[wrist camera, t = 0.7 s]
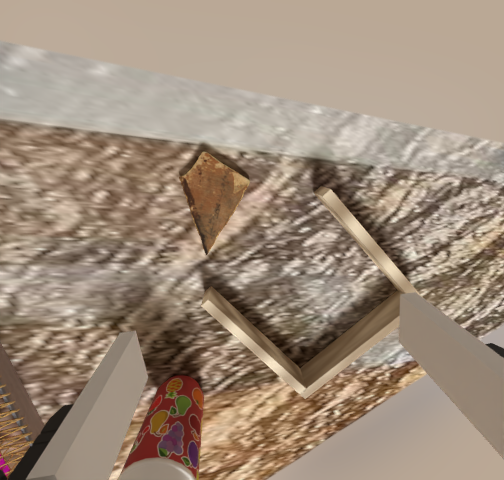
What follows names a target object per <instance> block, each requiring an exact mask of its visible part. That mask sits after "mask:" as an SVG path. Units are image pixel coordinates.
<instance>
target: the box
mask: <svg viewBox="0 0 504 480" xmlns="http://www.w3.org/2000/svg"><path fill="white" fill-rule="evenodd" d="M314 194H315V195H316V196H317V197H318V199H319V200H320V201H321V202H322V203H323V204H324V205H325V207H326V208H327V209H328V210H329V211H330V212H331V214H332V215H333V216H334V217H335V218H336V219H337V220H338V222H339V223H340V224H341V225H342V226H343V227H344V229H345V230H346V231H347V232H348V233H349V234H350V235H351V237H352V238H353V239H354V240H355V241H356V242H357V244H358V245H359V246H360V247H361V248H362V249H363V250H364V252H365V253H366V254H367V255H368V256H369V257H370V259H371V260H372V261H373V262H374V263H375V264H376V265H377V267H378V268H379V269H380V270H381V271H382V272H383V274H384V275H385V276H386V277H387V278H388V279H389V280H390V282H391V283H392V284H393V285H394V286H395V287H396V288H397V291H396V292H395V293H393V294H392V295H391V296H390V297H388V298H387V299H386V300H385V301H383V302H382V303H381V304H380V305H378V306H377V307H376V308H375V309H373V310H372V311H371V312H370V313H368V314H367V315H366V316H365V317H363V318H362V319H361V320H360V321H358V322H357V323H356V324H355V325H353V326H352V327H351V328H350V329H348V330H347V331H346V332H345V333H343V334H342V335H341V336H340V337H338V338H337V339H336V340H335V341H333V342H332V343H331V344H330V345H328V346H327V347H326V348H325V349H323V350H322V351H321V352H320V353H318V354H317V355H316V356H315V357H313V358H312V359H311V360H310V361H309V362H307V363H306V364H305V365H304V366H302V367H301V368H299V367H298V366H297V365H296V364H295V363H294V362H293V361H292V360H291V359H289V358H288V357H287V356H286V355H285V354H284V353H283V352H282V351H281V350H280V349H279V348H278V347H276V346H275V345H274V344H273V343H272V342H271V341H270V340H269V339H268V338H267V337H266V336H265V335H264V334H262V333H261V332H260V331H259V330H258V329H257V328H256V327H255V326H254V325H253V324H252V323H251V322H250V321H248V320H247V319H246V318H245V317H244V316H243V315H242V314H241V313H240V312H239V311H238V310H237V309H236V308H234V307H233V306H232V305H231V304H230V303H229V302H228V301H227V300H226V299H225V298H224V297H223V296H222V295H220V294H219V293H218V292H217V291H216V290H215V289H214V288H213V287H212V286H211V287H209V288H208V289H207V290H206V291H205V293H204V297H203V301H202V305H201V306H202V307H203V308H204V309H205V310H206V311H207V312H208V313H210V314H211V315H212V316H213V317H214V318H215V319H216V320H217V321H218V322H220V323H221V324H222V325H223V326H224V327H225V328H226V329H227V330H229V331H230V332H231V333H232V334H233V335H234V336H235V337H236V338H237V339H239V340H240V341H241V342H242V343H243V344H244V345H245V346H246V347H247V348H249V349H250V350H251V351H252V352H253V353H254V354H255V355H256V356H258V357H259V358H260V359H261V360H262V361H263V362H264V363H265V364H266V365H268V366H269V367H270V368H271V369H272V370H273V371H274V372H275V373H276V374H278V375H279V376H280V377H281V378H282V379H283V380H284V381H285V382H287V383H288V384H289V385H290V386H291V387H292V388H293V389H294V390H295V391H297V392H298V393H299V394H300V395H301V396H302V397H303V398H304V399H306V398H307V397H308V396H310V395H311V394H312V393H314V392H315V391H316V390H318V389H319V388H320V387H321V386H323V385H324V384H325V383H327V382H328V381H329V380H330V379H332V378H333V377H334V376H336V375H337V374H338V373H339V372H341V371H342V370H343V369H345V368H346V367H347V366H348V365H350V364H351V363H352V362H354V361H355V360H356V359H357V358H359V357H360V356H361V355H363V354H364V353H365V352H366V351H368V350H369V349H370V348H372V347H373V346H374V345H375V344H377V343H378V342H379V341H381V340H382V339H383V338H384V337H386V336H387V335H388V334H390V333H391V332H392V331H393V330H395V329H396V328H397V327H399V317H400V294H406V293H413V292H416V293H417V294H418V295H420V294H419V293H418V292H417V290H416V289H415V288H414V287H413V286H412V284H411V283H410V282H409V281H408V280H407V279H406V277H405V276H404V275H403V274H402V273H401V271H400V270H399V269H398V268H397V267H396V266H395V264H394V263H393V262H392V261H391V260H390V258H389V257H388V256H387V255H386V254H385V253H384V251H383V250H382V249H381V248H380V247H379V245H378V244H377V243H376V242H375V241H374V240H373V238H372V237H371V236H370V235H369V234H368V232H367V231H366V230H365V229H364V228H363V227H362V225H361V224H360V223H359V222H358V221H357V219H356V218H355V217H354V216H353V215H352V214H351V212H350V211H349V210H348V209H347V208H346V206H345V205H344V204H343V203H342V202H341V201H340V199H339V198H338V197H337V196H336V195H335V193H334V192H333V191H332V190H331V189H329V188H326V187H322V186H320V187H319V188H318V189H317V190H316V191H315V192H314ZM420 296H421V295H420ZM421 297H422V296H421ZM422 298H423V297H422Z"/></svg>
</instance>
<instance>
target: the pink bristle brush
mask: <svg viewBox="0 0 504 480" xmlns="http://www.w3.org/2000/svg"><path fill="white" fill-rule="evenodd" d="M0 394H1V395H0V398H2V397H3V399H4V401H5V403H4V404H0V406H1V405H2V406H1V407H0V408H2V407H5V406H8V408H9V410H10V411H8V412H4V413H0V415H1V414H5V413H7V414H5V415H3V416H0V418H2V417H5V416H7V415H9V414H12V415H13V417H14V419H12V420H7V421H3V422H0V423H5V422H9V421H11V422H10V423H8V424H0V425H4V426H7V425H9V424H11V423H14V422H17V424H18V426H19V427H15V428H10V429H6V430H2V431H0V433H1V432H5V433H8V434H6V435H9V434H11V433H13V432H15V431H18V430H20V429H21V431H22V433H23V434H22V435H17V436H13V437H8V438H4V439H0V441H1V440H4V441H5V440H14V441H12V442H15V441H17V440H19V439H21V438H23V437H25V438H26V440H27V442H23V443H19V444H14V445H10V446H6V445H8V444H10V443H12V442H10V443H7V444H5V445H3V446H6V447H3V446H1V444H2V443H3V442H4V441H3V442H2V443H1V444H0V446H1V447H0V449H3V448H8V449H9V448H10V447H12V448H17V449H15V450H13V451H11V452H14V451H16V450H18V449H20V448H22V447H24V446H27V445H30V446H32V445H33V442H34V441H35V439H36V438H37V436H38V435H40V434H41V431H42V429H43V428H44V426H45V425H44V423H43V422H42V420H41V418H40V416H39V414H38V412H37V410H36V408H35V407H34V405H33V403H32V401H31V399H30V397H29V395H28V393H27V391H26V390H25V388H24V386H23V384H22V382H21V380H20V378H19V376H18V375H17V373H16V371H15V369H14V367H13V365H12V363H11V361H10V360H9V358H8V356H7V354H6V352H5V350H4V348H3V346H2V344H1V343H0ZM1 396H2V397H1ZM6 404H7V405H6ZM10 412H11V413H10ZM15 420H16V421H15ZM4 426H2V427H4ZM2 427H0V428H2ZM12 429H15V430H14V431H12V432H10V431H8V430H12ZM6 435H4V436H6ZM4 436H1V437H0V438H2V437H4ZM19 436H21V437H19ZM22 436H23V437H22ZM15 437H19V438H17V439H10V438H15ZM27 443H28V444H27ZM21 444H24V445H23V446H21V447H16V446H17V445H21ZM8 449H7V450H8ZM7 450H6V451H7ZM6 451H5V452H4V454H3V455H2V453H1V452H0V469H1V470H3V472H4V473H5V475H6V477H7V476H8V475H9V474H10V472H13V470H14V469H13V468H14V467H15V465H16V464H17V463H18V462H20V461H21V459H20V460H17V459H19V458H21V457H23V456H24V455H25V454H18V453H22V452H27V451H28V450H24V451H20V452H15V453H11V452H9V453H11V454H9V453H6ZM5 453H6V454H5ZM9 455H12V456H11V458H12V457H13V455H22V456H20V457H18V458H16V459H14V460H16V461H14V460H12V461H10V462H9V460H10V459H11V458H10V459H9V460H8V462H6V460H5V458H4V456H9ZM5 462H6V463H5ZM14 462H17V463H16V464H15V465H14V467H13V468H12V469H11V468H10V467H9V465H8V464H9V463H14ZM7 465H8V466H7ZM8 467H9V468H8ZM8 478H9V477H8ZM8 478H7V479H8Z"/></svg>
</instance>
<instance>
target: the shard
mask: <svg viewBox="0 0 504 480" xmlns="http://www.w3.org/2000/svg"><path fill="white" fill-rule="evenodd" d="M179 179H180V181H181V185H182V186H183V191H184V194H185V196H186V198H187V202H188V205H189V208H190V211H191V215H192V218H193V220H194V223H195V226H196V229H197V231H198V233H199V235H200V237H201V240H202V243H203V249H204V251H205V253H206V255H207V254H208V252H209V251H210V249H211V247H212V246H213V244H214V243H215V240H216V238H217V237H218V235H219V233H220V232H221V230H222V229H223V228H224V226H225V225H226V224H227V222H228V221H229V219H230V217H231V216H232V214H233V213H234V211H235V210H236V207H237V206H238V205H239V202H240V201H241V199H242V197H243V195H244V191H245V190H246V188H247V187H248V186H249V182H250V180H249V179H247V178H246V177H243V176H242V175H240V174H239V173H238V172H236V171H234V170H233V169H231V168H229V167H228V166H226V165H225V164H223V163H221V162H220V161H219V160H217V159H216V158H215V157H213V156H212V155H211V154H209V153H207V152H205V151H204V152H202V153H201V155H200V156H199V158H198V160H197V161H196V163H195V164H194V166H193V167H192V169H190V170H189V171H188V172H187V173H186V174H185V175H183V176H180V177H179Z"/></svg>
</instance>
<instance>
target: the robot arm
mask: <svg viewBox="0 0 504 480" xmlns="http://www.w3.org/2000/svg"><path fill="white" fill-rule="evenodd" d="M399 342H400V343H401V345H402V346H403V347H404V348H405V349H406V350H407V351H408V352H409V354H410V355H411V356H412V357H413V358H414V359H415V360H416V361H417V363H418V364H419V365H420V366H421V367H422V368H423V369H424V370H425V372H426V373H427V374H428V375H429V376H430V377H431V378H432V379H433V380H434V382H436V384H437V385H438V386H439V387H440V388H441V389H442V391H443V392H444V393H445V394H446V395H447V396H448V397H449V398H450V399H451V401H452V402H453V403H454V404H455V405H456V406H457V407H458V408H459V410H460V411H461V412H462V413H463V414H464V415H465V416H466V417H467V419H468V420H469V421H470V422H471V423H472V424H473V425H474V426H475V428H476V429H477V430H478V431H479V432H480V433H481V434H482V435H483V436H484V437H485V439H486V440H487V441H488V442H489V443H490V444H491V445H492V447H493V448H494V449H495V450H496V451H497V452H498V453H499V454H500V456H501V457H502V458H503V459H504V349H503V348H501V347H499V346H497V345H495V344H492V343H490V344H484V343H483V342H481V341H480V340H479V339H477V338H476V337H475V336H473V335H472V334H471V333H469V332H468V331H467V330H465V329H464V328H463V327H461V326H460V325H459V324H457V323H456V322H455V321H453V320H452V319H450V318H449V317H448V316H446V315H445V314H444V313H442V312H441V311H440V310H438V309H437V308H436V307H434V306H433V305H432V304H430V303H429V302H428V301H426V300H425V299H424V298H422V297H421V296H420V295H418V294H417V293H416V292H413V293H406V294H400V317H399ZM147 379H148V375H147V371H146V367H145V364H144V360H143V356H142V352H141V349H140V345H139V341H138V337H137V334H136V331H130V332H123V333H120V334H119V335H118V337H117V338H116V340H115V341H114V343H113V344H112V346H111V348H110V349H109V351H108V352H107V354H106V355H105V357H104V358H103V360H102V362H101V363H100V365H99V366H98V368H97V369H96V371H95V372H94V374H93V375H92V377H91V379H90V380H89V382H88V383H87V385H86V386H85V388H84V389H83V391H82V393H81V394H80V396H79V397H78V399H77V400H76V402H75V403H74V404H72V405H65V406H63V407H62V408H61V409H60V410H59V411H58V412H56V413H55V414H54V415H53V416H52V417H51V418H50V419H49V421H48V422H47V423H46V425H45V426H44V428H43V429H42V431H41V434H40V435H38V436H37V438H36V439H35V441H34V442H33V445H32V446H30V448H29V449H28V451H27V452H26V453H25V455H24V456H23V458H22V459H21V461H20V462H19V463H18V465H17V466H16V468H15V469H14V471H13V472H12V473H11V475H10V476H9V478H8V479H7V477H6V475H5V473H4V472H3V470H1V469H0V480H109V477H110V475H111V472H112V469H113V467H114V464H115V462H116V459H117V457H118V454H119V451H120V449H121V446H122V444H123V441H124V438H125V436H126V433H127V431H128V428H129V425H130V423H131V420H132V418H133V415H134V413H135V410H136V407H137V405H138V402H139V400H140V397H141V394H142V392H143V389H144V387H145V384H146V382H147Z"/></svg>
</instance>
